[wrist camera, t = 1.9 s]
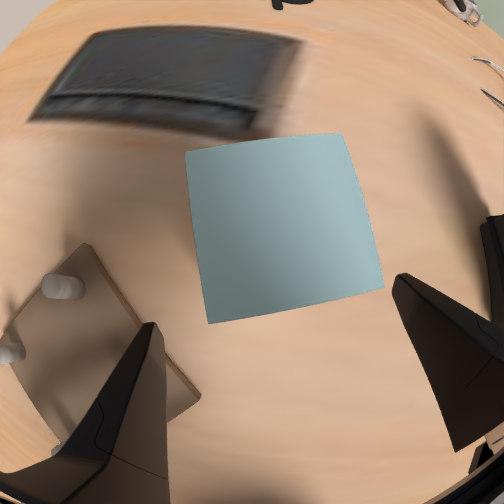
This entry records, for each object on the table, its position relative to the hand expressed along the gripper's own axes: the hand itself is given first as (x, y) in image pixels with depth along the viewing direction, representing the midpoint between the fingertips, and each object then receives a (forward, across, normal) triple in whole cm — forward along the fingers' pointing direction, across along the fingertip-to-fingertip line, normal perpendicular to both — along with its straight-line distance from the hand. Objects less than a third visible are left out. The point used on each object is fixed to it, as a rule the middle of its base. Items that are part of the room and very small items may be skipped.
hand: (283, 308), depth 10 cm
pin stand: (+5, +15, +9) cm, 18 cm away
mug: (+42, -57, -28) cm, 77 cm away
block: (+8, 0, +5) cm, 10 cm away
